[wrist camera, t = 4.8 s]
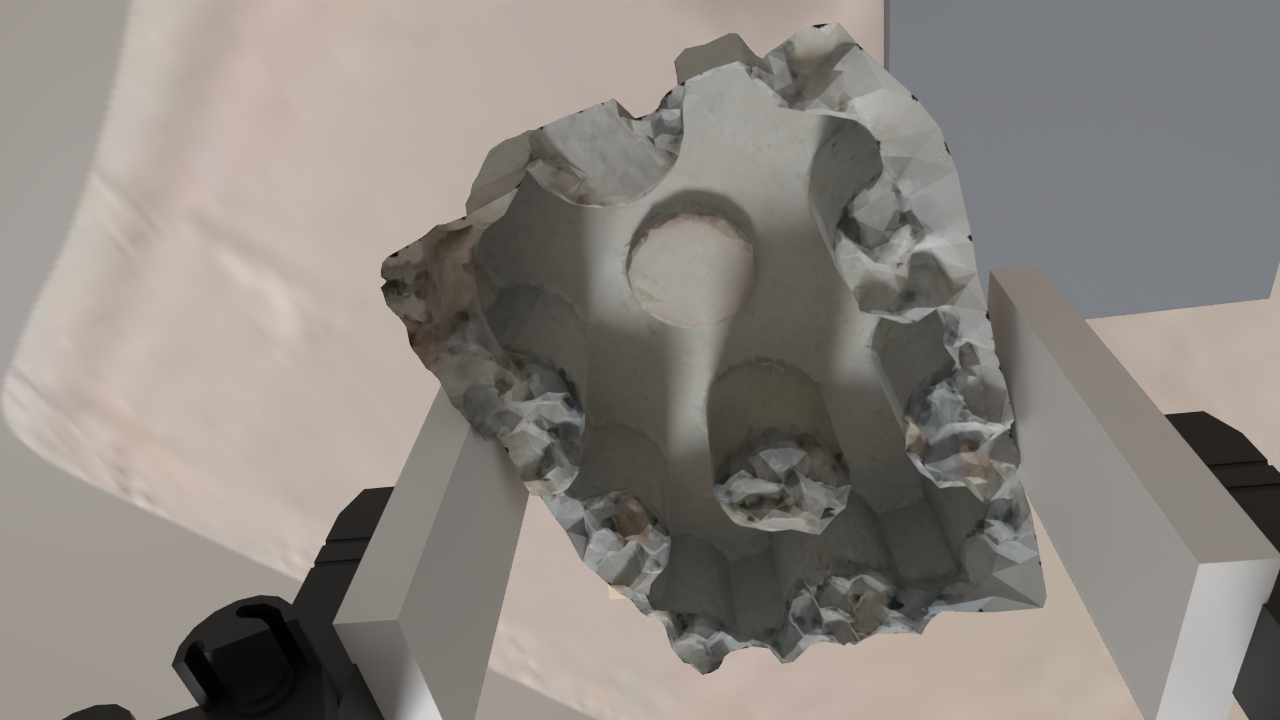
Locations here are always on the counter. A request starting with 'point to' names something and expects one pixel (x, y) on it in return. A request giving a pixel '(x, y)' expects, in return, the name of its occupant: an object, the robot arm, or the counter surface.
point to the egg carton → (740, 352)
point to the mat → (1108, 140)
